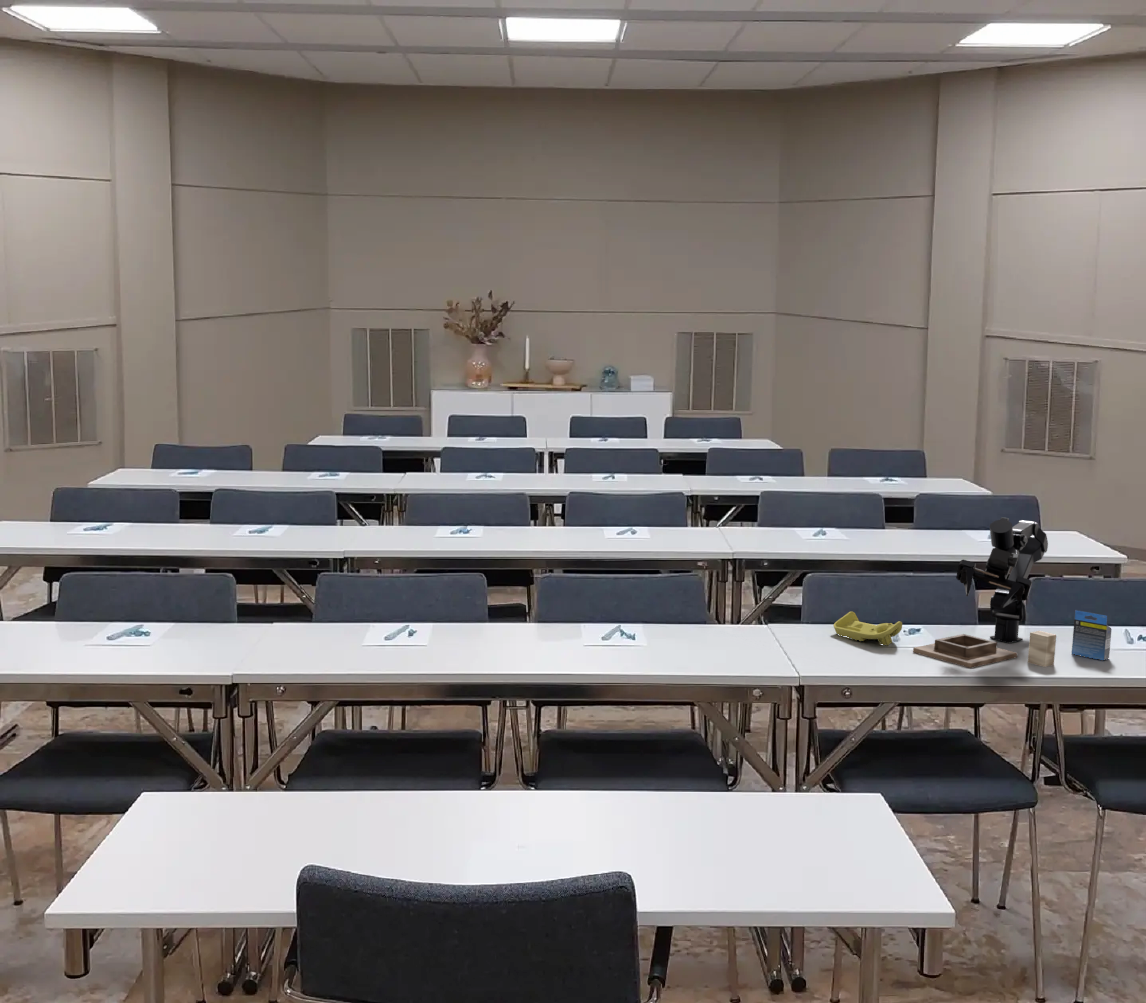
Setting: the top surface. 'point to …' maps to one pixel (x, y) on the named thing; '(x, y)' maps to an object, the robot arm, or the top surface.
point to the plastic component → (866, 629)
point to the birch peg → (1041, 648)
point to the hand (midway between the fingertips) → (984, 600)
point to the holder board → (965, 651)
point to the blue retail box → (1091, 636)
